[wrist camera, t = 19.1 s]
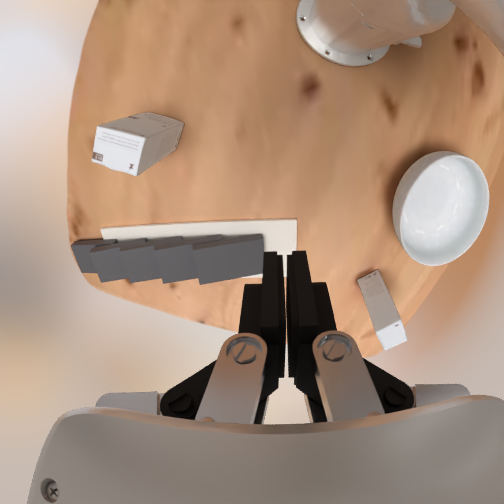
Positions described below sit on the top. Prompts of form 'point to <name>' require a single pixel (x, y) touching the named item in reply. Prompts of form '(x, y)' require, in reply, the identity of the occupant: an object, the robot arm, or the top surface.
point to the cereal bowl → (440, 207)
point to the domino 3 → (143, 259)
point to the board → (216, 233)
